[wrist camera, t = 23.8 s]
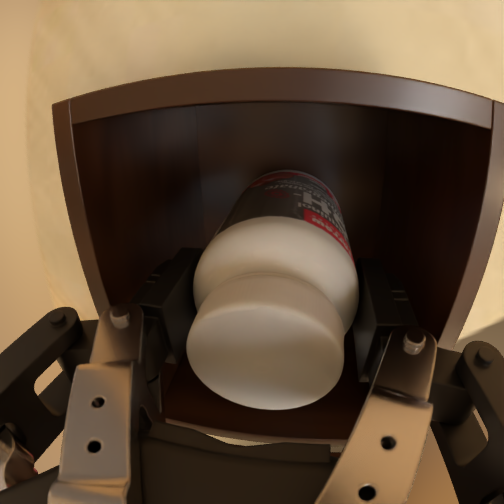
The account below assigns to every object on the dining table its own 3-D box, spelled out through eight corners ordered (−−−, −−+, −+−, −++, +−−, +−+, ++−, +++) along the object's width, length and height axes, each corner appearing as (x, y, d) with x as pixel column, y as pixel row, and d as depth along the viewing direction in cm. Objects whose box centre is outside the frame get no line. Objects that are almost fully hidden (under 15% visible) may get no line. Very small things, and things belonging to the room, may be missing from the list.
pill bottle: (351, 179, 14) (410, 303, 6) (327, 272, 17) (333, 433, 8) (242, 158, 15) (150, 253, 6) (231, 254, 17) (165, 400, 9)
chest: (187, 94, 17) (50, 104, 7) (397, 98, 15) (515, 107, 5) (205, 295, 24) (145, 420, 13) (370, 305, 22) (395, 444, 11)
